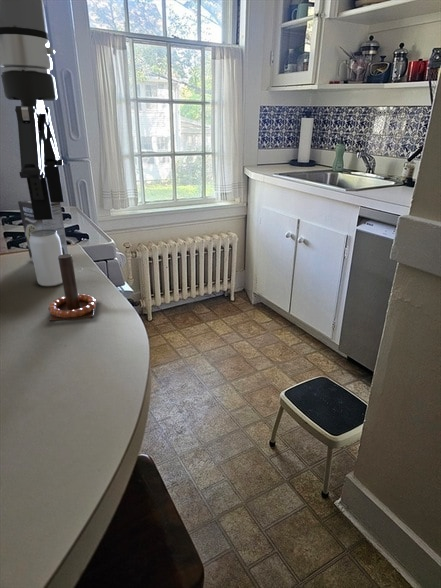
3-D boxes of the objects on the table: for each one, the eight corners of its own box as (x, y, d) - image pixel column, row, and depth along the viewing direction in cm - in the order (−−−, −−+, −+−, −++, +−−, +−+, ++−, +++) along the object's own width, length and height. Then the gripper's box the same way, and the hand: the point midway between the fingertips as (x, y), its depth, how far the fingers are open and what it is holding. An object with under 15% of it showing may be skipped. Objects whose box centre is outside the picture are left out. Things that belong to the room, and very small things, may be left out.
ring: (53, 301, 81) (52, 295, 80) (98, 297, 82) (97, 291, 82) (45, 321, 73) (44, 314, 72) (95, 316, 75) (94, 310, 74)
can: (31, 284, 91) (20, 234, 86) (51, 275, 96) (42, 227, 91) (53, 288, 89) (43, 237, 84) (72, 278, 94) (64, 230, 89)
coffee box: (29, 261, 105) (16, 201, 99) (50, 255, 110) (39, 197, 103) (49, 268, 101) (37, 205, 94) (70, 261, 105) (60, 201, 99)
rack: (56, 306, 81) (46, 250, 76) (96, 302, 82) (88, 248, 77) (49, 324, 74) (37, 264, 69) (93, 320, 75) (85, 261, 70)
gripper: (38, 64, 50) (64, 227, 59) (64, 78, 72) (79, 195, 81) (-27, 61, 48) (9, 229, 57) (20, 77, 70) (41, 196, 79)
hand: (50, 210), depth 69 cm, fingers open, 13 cm apart
